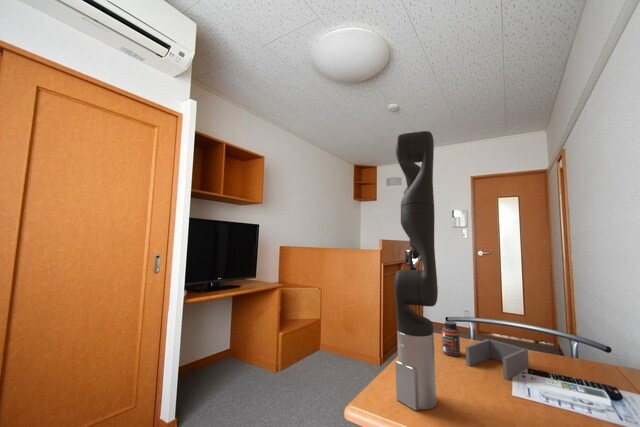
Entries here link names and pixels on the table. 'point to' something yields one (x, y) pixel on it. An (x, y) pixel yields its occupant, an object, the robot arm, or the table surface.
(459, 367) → the table surface
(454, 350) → the supplement bottle
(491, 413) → the table surface
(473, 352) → the grey u-shaped bracket
